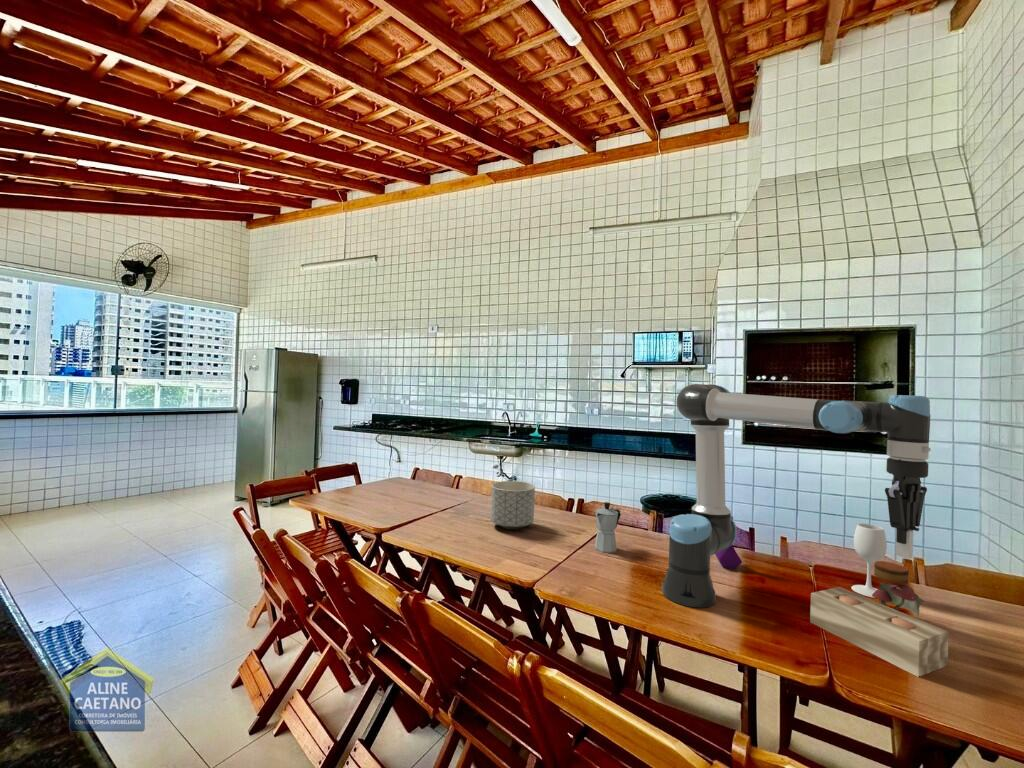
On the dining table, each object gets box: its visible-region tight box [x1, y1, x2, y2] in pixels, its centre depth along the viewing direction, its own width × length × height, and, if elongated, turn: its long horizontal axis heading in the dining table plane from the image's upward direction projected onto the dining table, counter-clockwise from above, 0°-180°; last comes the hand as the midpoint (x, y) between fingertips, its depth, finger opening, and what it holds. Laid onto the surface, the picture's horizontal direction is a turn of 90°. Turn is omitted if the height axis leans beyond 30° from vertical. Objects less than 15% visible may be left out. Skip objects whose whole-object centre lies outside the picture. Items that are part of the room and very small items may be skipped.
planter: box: [490, 480, 536, 530], centre depth 194 cm, size 19×19×18 cm
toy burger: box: [872, 560, 925, 619], centre depth 123 cm, size 12×13×15 cm
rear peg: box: [839, 595, 858, 606], centre depth 117 cm, size 4×4×7 cm
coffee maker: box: [594, 501, 622, 554], centre depth 171 cm, size 15×9×18 cm, turn 131°
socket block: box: [809, 586, 949, 678], centre depth 111 cm, size 12×24×8 cm, turn 22°
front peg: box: [892, 618, 914, 630], centre depth 106 cm, size 4×4×7 cm
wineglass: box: [851, 522, 888, 599], centre depth 140 cm, size 9×9×21 cm
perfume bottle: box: [714, 515, 743, 570], centre depth 157 cm, size 8×8×18 cm
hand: (903, 556), depth 106 cm, fingers closed
